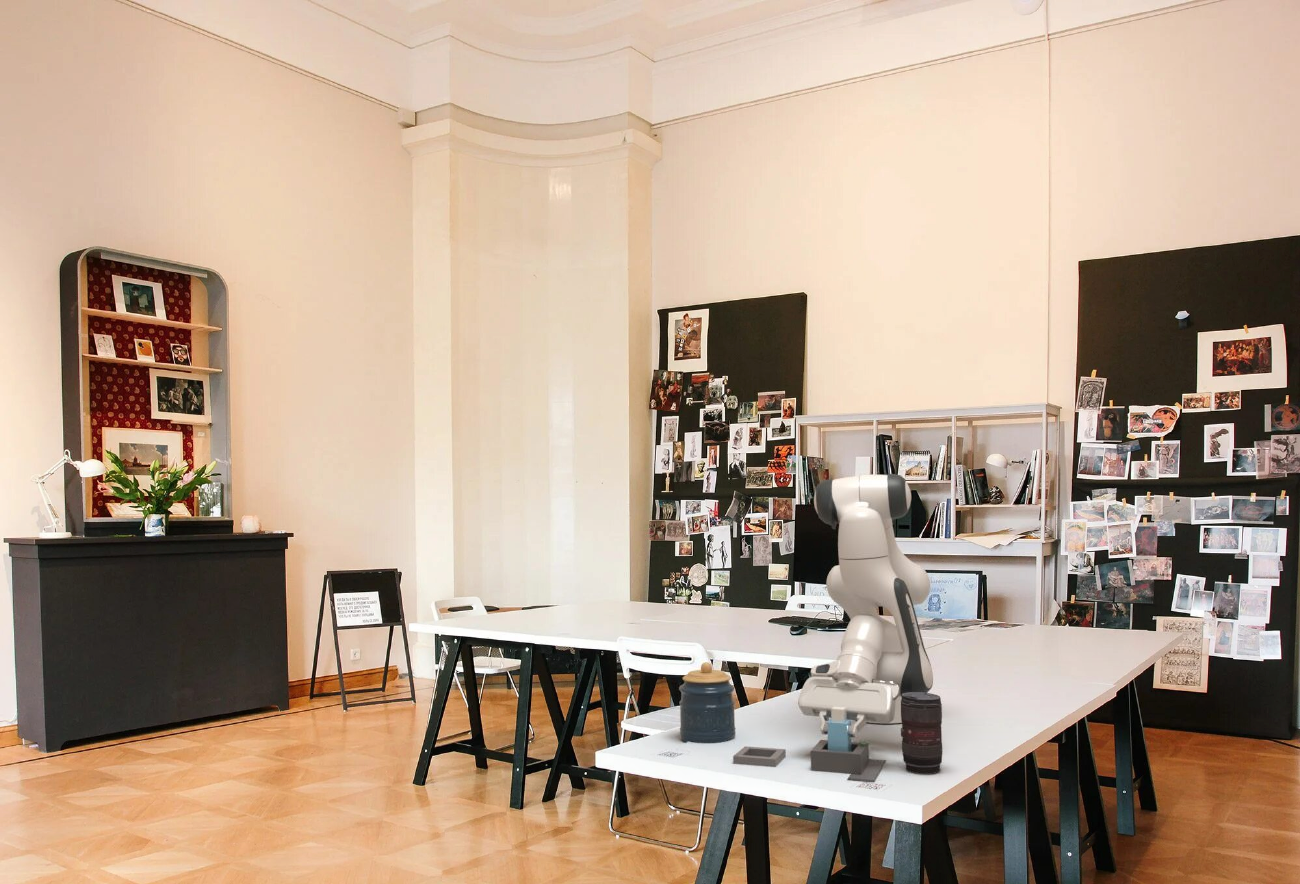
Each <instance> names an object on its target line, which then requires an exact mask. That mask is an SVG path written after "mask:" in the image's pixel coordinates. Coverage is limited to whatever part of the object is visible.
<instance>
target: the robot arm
mask: <svg viewBox="0 0 1300 884" xmlns="http://www.w3.org/2000/svg"><path fill="white" fill-rule="evenodd" d="M911 492H912V491H911V488H910V486H909V484H908V483H907V481H906V478H904V477H903V476H902V475H900V474H895V473H887V474H859V475H853V476H847V477H840V478H835V479H834V478H828V479H825V480H822V481H820V482H819V483H818V484H817V485H816V488H815V492H814V496H813V504H814V509H815V511H816V514H817V516H818V519H820V520H821V521H822V522H823V523H824V524H827V525H830V526H831V529H833V530H836V527H837V524H838V525H839V526H838V534H837V535H838V536H837V540H838V541H837V547H838V548H837V550H838V553H837V554H838V565H834V566H833V567H831V570H830V571H828V572H829V573H828V575H827V578H826V591H827V593H828V595H829V597H830V598H831V600H833V602H834V603H836V604H837V605H838V606H839V607H841V608H842V609H843V610H844V611H845V613H846V614H847V616H848V617H849V619H850V621H849V622H848V625H847V627H846V628H845V632H844V633H843V634H844V635H843V638H842V640H841V644H840V653H839V655H838V657H837V658H836V660H834V661H831V662H826V663H823V664H817V665H813V666H812V667H811V668H810V674H811V675H810V677H809V678H807V679H806V681H805V682H804V684H803V686H802V688H801V690H800V694H799V697H798V699H797V704H798V705H797V706H798V707H799V709H800V711H801V713H802V714H803V715H804V716H811V717H819V718H820V721H821V727H820V732H821V734H822V735H828V726H827V722H828V721H829V720H830V719H831V709H832V708H833V707H846V713H847V719H849V720H851V721H852V720H853V721H856V722H855V723H854V724H853V725H851V726H849V730H848V735H849V737H851V738H858V735H859V732H860V731H861V730H862V729H864V727H865V726H866V725H867V723H871V724H872V723H873V724H900V723H901V724H902V721H901V699H902V694H903V693H908V692H923V693H930V692H929V691H930V690H931V689H932V687H933V684H934V673H933V668H932V665H931V661H930V659H929V656H928V654H927V650H926V648H925V644H924V640H923V638H922V634H921V630H920V625H919V622H918V618H917V617H918V616H917V614H916V610H915V607H914V606H917V605H921V604H923V603H924V602H925V601H926V600H927V598H928V596H929V594H930V592H931V591H930V590H931V580H930V577H929V575H928V573H927V571H926V570H925V569H924V568H923V567H922V566H921V565H919V564H918V563H917V564H916V563H915V562H913V561H912V560H911V559H909V558H908V557H907V556H906V555H905V553H903V552H902V550H901V549H900V548H899V546H898V544H897V540H896V538H895V533H894V526H893V525H894V524H893V520H897V519H901V518H903V517H905V516H906V514H908V512H909V509H910V507H911V503H912V502H911V501H912V493H911ZM877 607H884V608H885V609H886V610H887V611H888V612H889V613H890V614H891V616H892V617H893V620H894V623H892V622H891V621H889V620H887V619H885V618H883V617H882V616H880V615H879V613H878V611H877Z"/></svg>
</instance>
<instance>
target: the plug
mask: <svg viewBox="0 0 1300 884" xmlns="http://www.w3.org/2000/svg"><path fill="white" fill-rule="evenodd" d="M826 723H827V726H828V734H827V740H828V750H836V751H850V752H851V742H852V737H849V735H848V730H849V726H852V720H850V719H847V713H846V707H833V708H832V709H831V718H829V720H828V721H826Z"/></svg>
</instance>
